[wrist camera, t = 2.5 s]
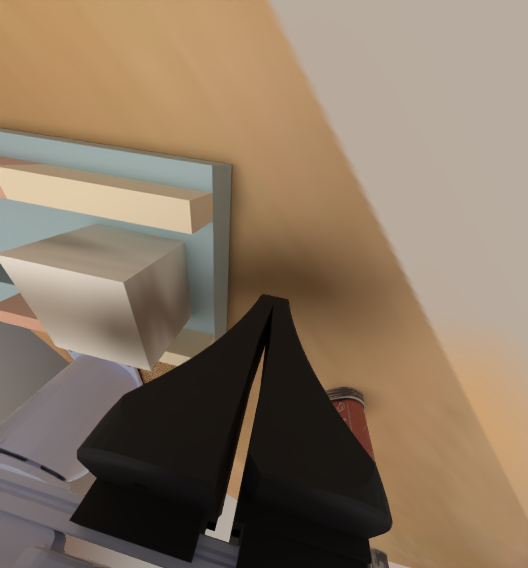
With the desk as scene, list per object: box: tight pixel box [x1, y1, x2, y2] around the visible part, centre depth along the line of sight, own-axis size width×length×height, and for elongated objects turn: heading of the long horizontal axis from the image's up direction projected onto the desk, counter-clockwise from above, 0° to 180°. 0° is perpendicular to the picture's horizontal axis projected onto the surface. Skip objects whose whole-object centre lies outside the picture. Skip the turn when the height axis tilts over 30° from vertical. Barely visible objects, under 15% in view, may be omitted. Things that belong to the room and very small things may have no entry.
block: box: [0, 224, 192, 371], centre depth 10 cm, size 5×5×4 cm
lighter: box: [325, 387, 393, 568], centre depth 15 cm, size 8×3×10 cm, turn 137°
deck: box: [0, 128, 232, 366], centre depth 12 cm, size 12×22×4 cm, turn 83°
